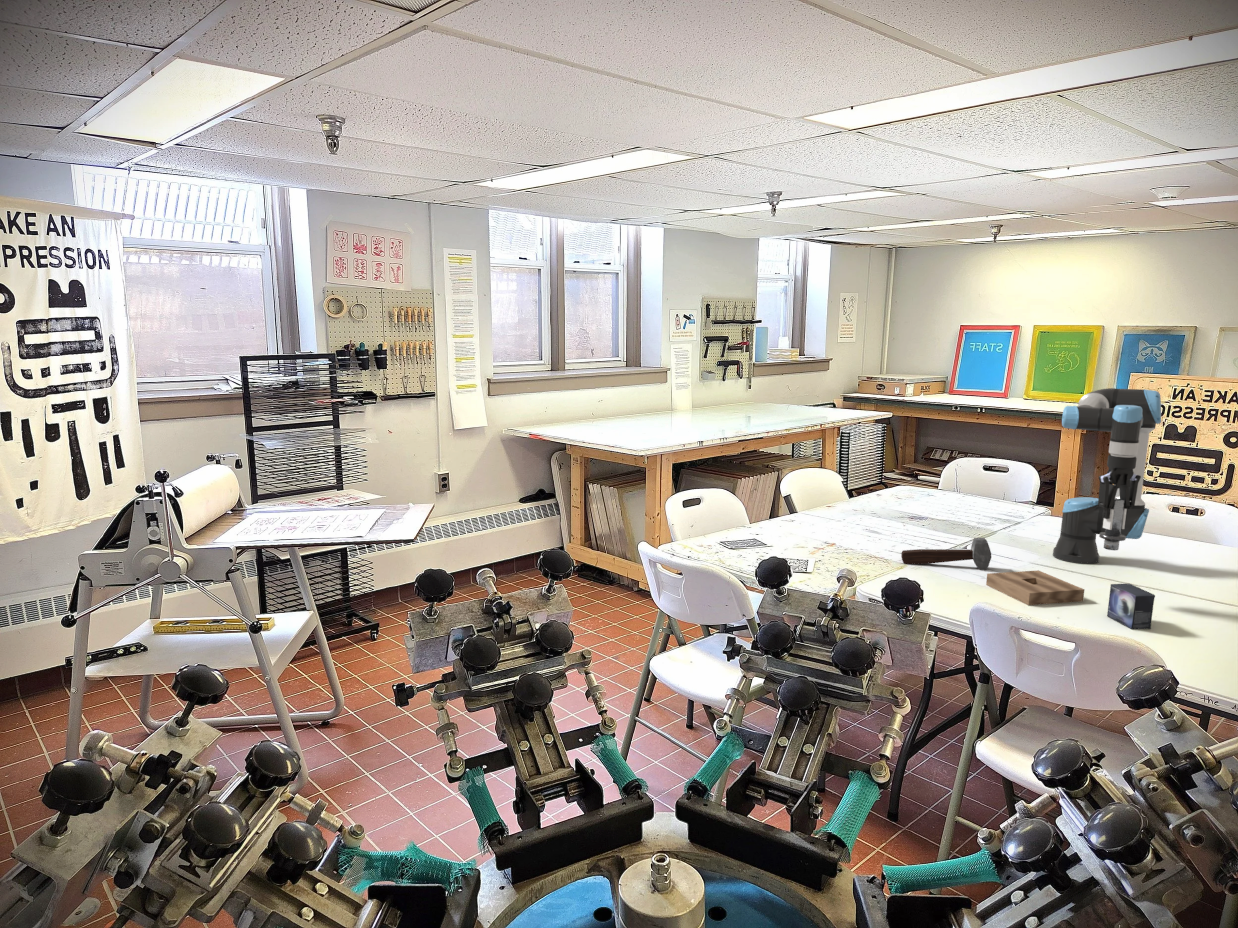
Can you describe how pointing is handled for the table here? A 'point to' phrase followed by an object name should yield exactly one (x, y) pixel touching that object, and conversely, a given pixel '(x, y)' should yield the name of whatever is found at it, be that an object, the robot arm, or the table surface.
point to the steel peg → (1114, 527)
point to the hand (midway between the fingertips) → (1113, 528)
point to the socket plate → (1035, 587)
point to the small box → (1130, 606)
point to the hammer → (951, 555)
